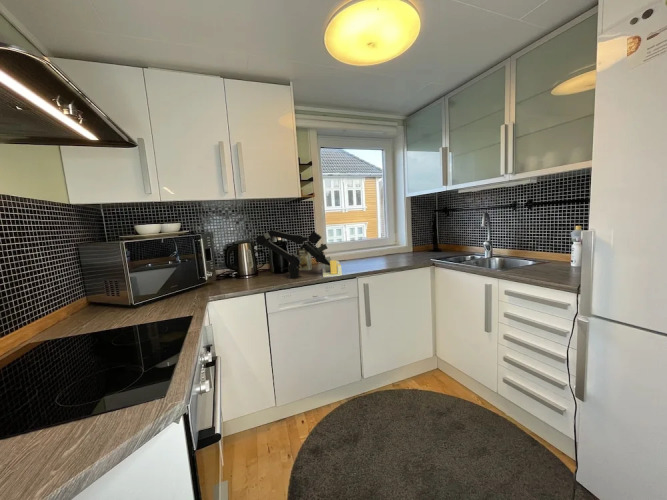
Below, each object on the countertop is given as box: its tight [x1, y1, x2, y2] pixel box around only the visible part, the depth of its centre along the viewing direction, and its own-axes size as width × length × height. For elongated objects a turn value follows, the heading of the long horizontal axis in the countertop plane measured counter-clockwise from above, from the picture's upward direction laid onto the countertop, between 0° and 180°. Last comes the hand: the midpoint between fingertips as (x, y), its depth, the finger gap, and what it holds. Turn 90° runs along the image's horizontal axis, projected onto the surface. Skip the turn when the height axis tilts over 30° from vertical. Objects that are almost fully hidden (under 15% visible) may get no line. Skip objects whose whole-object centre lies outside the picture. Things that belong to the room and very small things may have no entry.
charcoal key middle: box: [324, 257, 332, 272], centre depth 188 cm, size 4×6×8 cm, turn 3°
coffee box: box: [296, 248, 313, 271], centre depth 207 cm, size 9×6×16 cm
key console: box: [322, 260, 343, 278], centre depth 188 cm, size 12×28×6 cm, turn 3°
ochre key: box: [330, 259, 337, 274], centre depth 178 cm, size 4×6×8 cm, turn 3°
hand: (329, 264), depth 178 cm, fingers closed, pressing on ochre key
